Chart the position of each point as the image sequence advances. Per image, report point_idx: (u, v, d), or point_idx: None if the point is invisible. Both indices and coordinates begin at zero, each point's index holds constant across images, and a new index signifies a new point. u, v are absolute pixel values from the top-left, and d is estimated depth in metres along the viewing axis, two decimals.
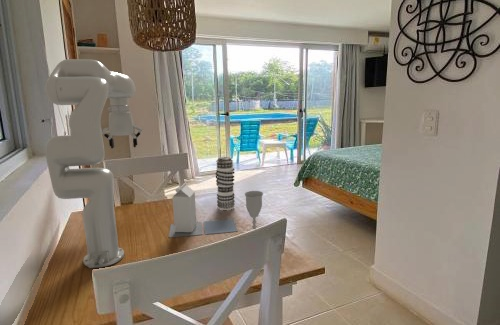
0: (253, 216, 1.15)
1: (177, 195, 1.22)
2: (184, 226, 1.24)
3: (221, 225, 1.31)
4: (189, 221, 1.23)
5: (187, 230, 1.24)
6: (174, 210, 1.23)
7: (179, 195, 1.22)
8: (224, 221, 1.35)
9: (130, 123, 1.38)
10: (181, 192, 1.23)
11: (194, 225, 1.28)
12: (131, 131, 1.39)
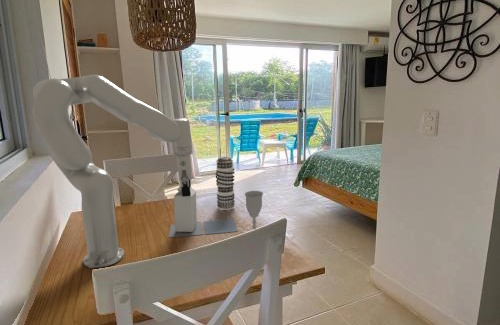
0: (253, 216, 1.15)
1: (179, 194, 1.23)
2: (184, 226, 1.24)
3: (221, 225, 1.31)
4: (190, 221, 1.23)
5: (187, 230, 1.24)
6: (175, 209, 1.23)
7: (181, 194, 1.23)
8: (224, 221, 1.35)
9: None
10: None
11: (194, 225, 1.28)
12: None
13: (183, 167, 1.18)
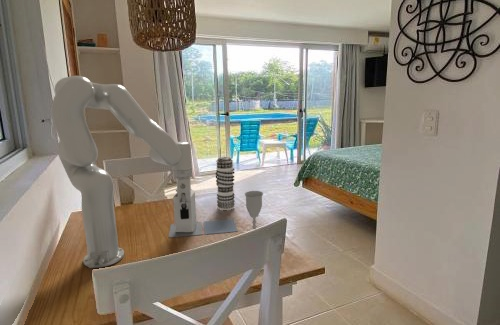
0: (253, 216, 1.15)
1: None
2: (184, 227, 1.24)
3: (221, 225, 1.31)
4: (190, 221, 1.23)
5: (188, 230, 1.24)
6: (175, 210, 1.22)
7: None
8: (224, 221, 1.35)
9: None
10: None
11: (194, 225, 1.28)
12: None
13: (183, 190, 1.19)
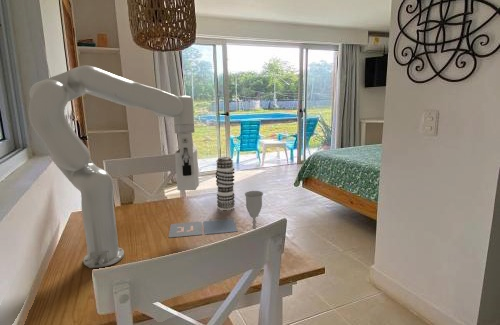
0: (253, 216, 1.15)
1: (179, 151, 1.19)
2: (187, 184, 1.21)
3: (221, 225, 1.31)
4: (192, 178, 1.20)
5: (190, 188, 1.21)
6: (177, 167, 1.19)
7: None
8: (224, 221, 1.35)
9: None
10: None
11: (197, 184, 1.25)
12: None
13: (185, 144, 1.16)
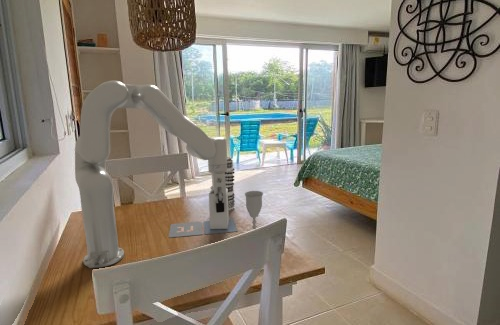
0: (253, 216, 1.15)
1: (213, 192, 1.25)
2: (219, 223, 1.26)
3: None
4: (225, 217, 1.26)
5: (223, 226, 1.27)
6: (210, 207, 1.25)
7: None
8: None
9: None
10: None
11: (228, 222, 1.30)
12: None
13: (219, 184, 1.21)
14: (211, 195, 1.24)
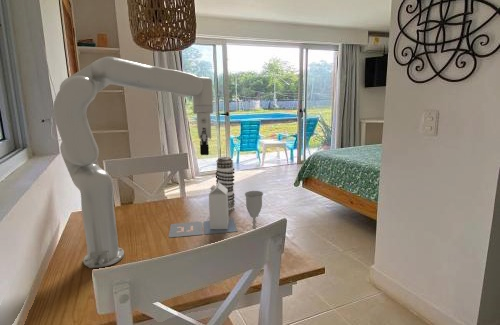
0: (253, 216, 1.15)
1: (213, 193, 1.25)
2: (219, 224, 1.26)
3: None
4: (225, 218, 1.26)
5: (223, 227, 1.27)
6: (210, 208, 1.25)
7: (215, 193, 1.25)
8: None
9: None
10: (216, 190, 1.26)
11: (228, 222, 1.30)
12: None
13: (203, 125, 1.18)
14: (211, 196, 1.24)
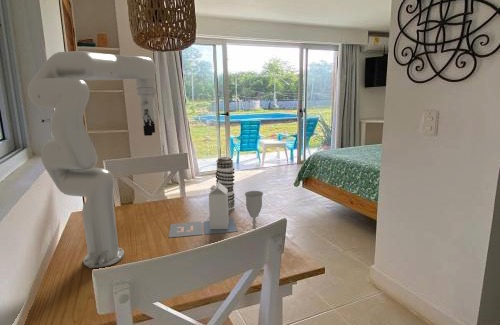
0: (253, 216, 1.15)
1: (213, 193, 1.25)
2: (219, 224, 1.26)
3: None
4: (225, 218, 1.26)
5: (223, 227, 1.27)
6: (210, 208, 1.25)
7: (215, 193, 1.25)
8: None
9: None
10: (216, 190, 1.26)
11: (228, 222, 1.30)
12: None
13: (145, 106, 1.24)
14: (211, 196, 1.24)
